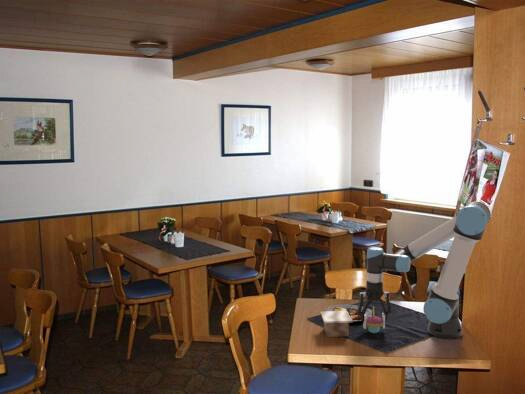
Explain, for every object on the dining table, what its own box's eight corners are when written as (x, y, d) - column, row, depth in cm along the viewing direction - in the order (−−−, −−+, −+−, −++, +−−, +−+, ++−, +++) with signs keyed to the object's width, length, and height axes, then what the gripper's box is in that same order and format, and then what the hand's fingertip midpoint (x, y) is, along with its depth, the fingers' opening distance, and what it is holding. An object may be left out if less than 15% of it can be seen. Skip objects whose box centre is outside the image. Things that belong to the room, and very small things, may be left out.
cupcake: (362, 328, 249) (362, 304, 248) (380, 327, 250) (380, 303, 249) (368, 335, 241) (368, 310, 239) (386, 334, 242) (386, 309, 240)
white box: (347, 326, 252) (347, 310, 251) (352, 337, 239) (352, 320, 238) (320, 327, 251) (320, 311, 250) (324, 338, 238) (324, 321, 237)
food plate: (369, 326, 251) (369, 319, 251) (321, 323, 257) (321, 316, 257) (373, 310, 275) (373, 304, 275) (329, 307, 281) (329, 301, 281)
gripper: (394, 277, 246) (393, 323, 249) (350, 278, 246) (350, 325, 249) (399, 282, 239) (398, 330, 242) (353, 283, 238) (353, 331, 241)
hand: (374, 327), depth 245 cm, fingers closed on cupcake, 8 cm apart
